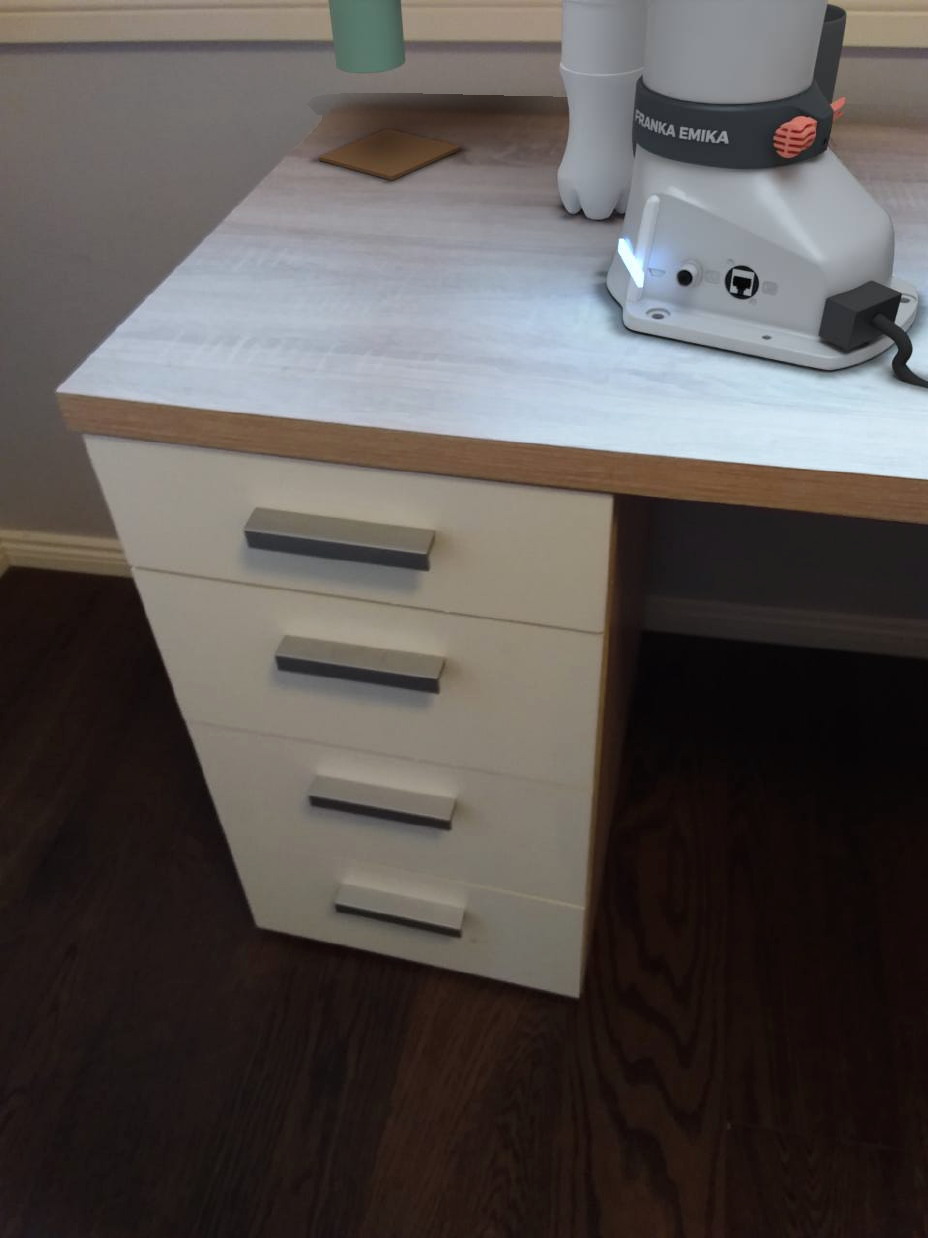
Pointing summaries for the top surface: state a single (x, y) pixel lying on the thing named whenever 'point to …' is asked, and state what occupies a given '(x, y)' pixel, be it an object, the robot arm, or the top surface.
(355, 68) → the bottle
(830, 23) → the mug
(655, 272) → the robot arm
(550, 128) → the top surface
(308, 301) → the top surface
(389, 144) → the mat
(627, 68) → the water bottle
